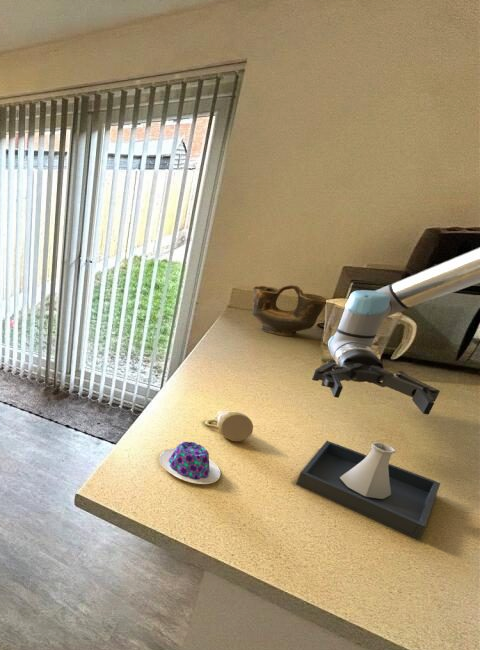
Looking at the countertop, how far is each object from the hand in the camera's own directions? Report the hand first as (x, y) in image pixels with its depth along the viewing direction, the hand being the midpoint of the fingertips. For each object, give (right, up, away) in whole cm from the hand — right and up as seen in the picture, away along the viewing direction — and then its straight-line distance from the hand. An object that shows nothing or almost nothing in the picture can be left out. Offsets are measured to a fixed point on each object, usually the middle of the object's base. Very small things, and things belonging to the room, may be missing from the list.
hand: (381, 400), depth 81 cm
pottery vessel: (+43, +18, +81) cm, 94 cm away
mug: (-20, -11, +19) cm, 29 cm away
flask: (-5, -18, -1) cm, 19 cm away
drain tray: (-5, -18, -1) cm, 19 cm away
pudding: (-37, -16, +6) cm, 41 cm away
